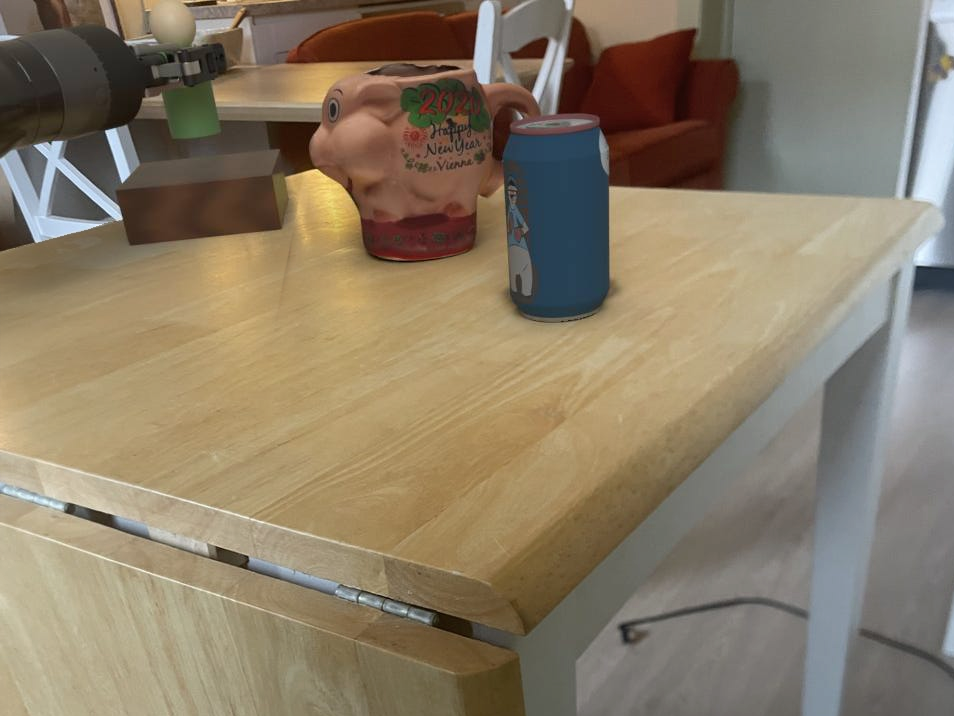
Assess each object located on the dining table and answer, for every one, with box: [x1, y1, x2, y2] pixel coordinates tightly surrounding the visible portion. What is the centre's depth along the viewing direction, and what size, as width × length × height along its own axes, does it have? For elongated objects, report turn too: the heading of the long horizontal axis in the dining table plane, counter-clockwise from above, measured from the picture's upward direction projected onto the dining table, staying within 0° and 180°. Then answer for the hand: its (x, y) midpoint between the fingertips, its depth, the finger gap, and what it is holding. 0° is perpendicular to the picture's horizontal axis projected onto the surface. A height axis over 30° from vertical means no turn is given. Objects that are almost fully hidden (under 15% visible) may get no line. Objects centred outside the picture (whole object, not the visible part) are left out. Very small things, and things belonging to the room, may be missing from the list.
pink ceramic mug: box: [308, 61, 542, 261], centre depth 85 cm, size 20×12×14 cm, turn 113°
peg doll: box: [148, 0, 222, 140], centre depth 91 cm, size 5×5×11 cm
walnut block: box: [114, 148, 289, 247], centre depth 98 cm, size 14×14×6 cm
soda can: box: [502, 113, 611, 323], centre depth 68 cm, size 7×7×12 cm
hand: (198, 57), depth 93 cm, fingers closed on peg doll, 4 cm apart
